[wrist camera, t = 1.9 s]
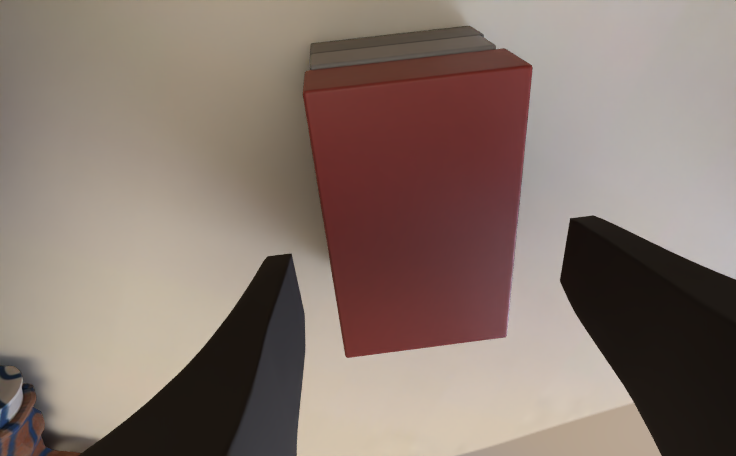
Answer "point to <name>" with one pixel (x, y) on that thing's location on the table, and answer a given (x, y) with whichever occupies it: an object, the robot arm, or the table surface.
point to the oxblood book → (420, 194)
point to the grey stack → (397, 47)
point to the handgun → (21, 418)
